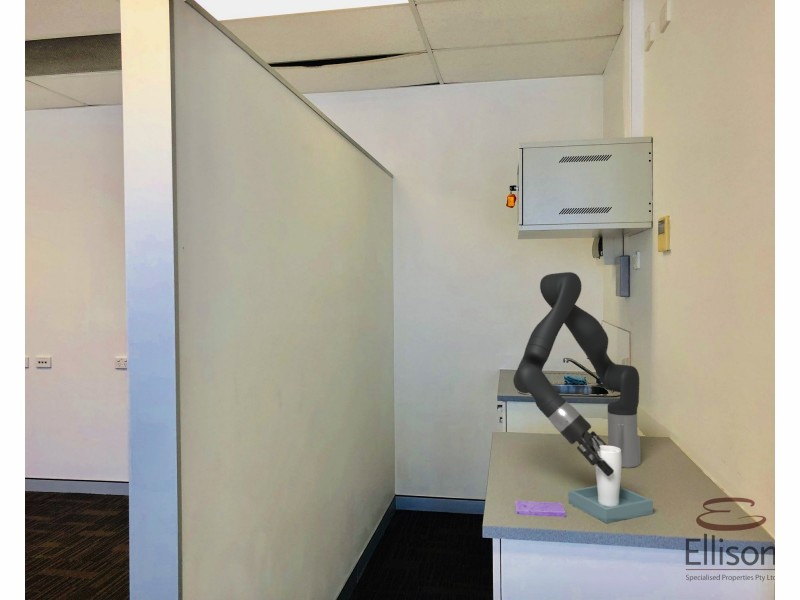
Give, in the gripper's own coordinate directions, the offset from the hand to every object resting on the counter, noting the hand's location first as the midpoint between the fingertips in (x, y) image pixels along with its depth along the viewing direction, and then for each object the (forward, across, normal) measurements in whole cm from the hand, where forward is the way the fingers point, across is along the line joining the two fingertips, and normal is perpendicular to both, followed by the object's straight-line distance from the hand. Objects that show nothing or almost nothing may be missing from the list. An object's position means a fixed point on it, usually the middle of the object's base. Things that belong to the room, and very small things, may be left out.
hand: (614, 469), depth 150 cm
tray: (+7, 0, +8) cm, 11 cm away
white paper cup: (+6, 0, +8) cm, 10 cm away
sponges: (-4, -10, +20) cm, 23 cm away
